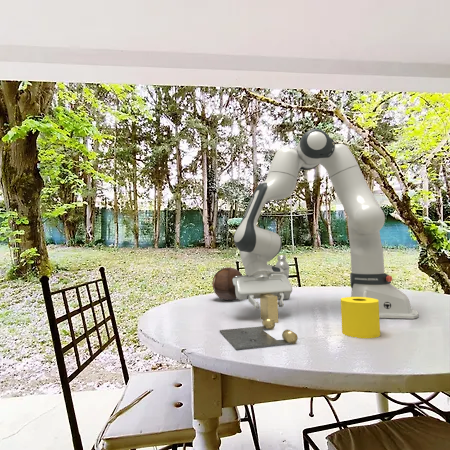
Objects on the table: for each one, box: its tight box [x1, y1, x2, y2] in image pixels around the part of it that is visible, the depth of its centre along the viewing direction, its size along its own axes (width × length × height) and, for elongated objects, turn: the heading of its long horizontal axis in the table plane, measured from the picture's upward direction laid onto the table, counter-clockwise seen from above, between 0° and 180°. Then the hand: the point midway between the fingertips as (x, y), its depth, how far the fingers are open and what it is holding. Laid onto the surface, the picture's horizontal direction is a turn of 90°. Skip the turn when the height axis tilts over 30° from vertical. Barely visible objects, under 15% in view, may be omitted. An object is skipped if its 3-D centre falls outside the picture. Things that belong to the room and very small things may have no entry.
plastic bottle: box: [274, 254, 291, 301], centre depth 153 cm, size 6×7×20 cm
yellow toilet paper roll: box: [340, 296, 381, 339], centre depth 95 cm, size 10×10×9 cm
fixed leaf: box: [219, 318, 299, 351], centre depth 93 cm, size 18×16×3 cm
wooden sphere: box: [211, 266, 243, 301], centre depth 154 cm, size 15×15×15 cm
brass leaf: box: [259, 294, 279, 324], centre depth 113 cm, size 7×4×8 cm, turn 15°
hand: (269, 306), depth 112 cm, fingers open, 7 cm apart
